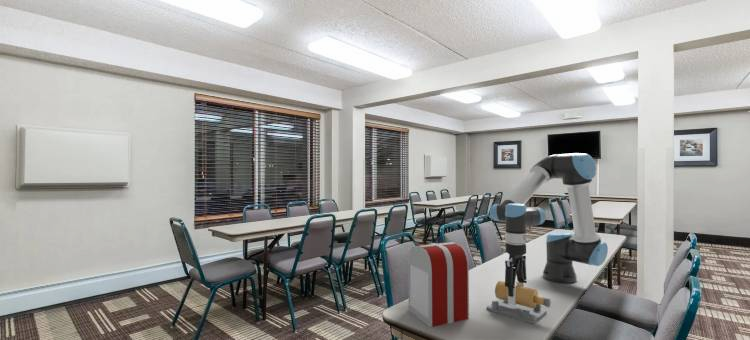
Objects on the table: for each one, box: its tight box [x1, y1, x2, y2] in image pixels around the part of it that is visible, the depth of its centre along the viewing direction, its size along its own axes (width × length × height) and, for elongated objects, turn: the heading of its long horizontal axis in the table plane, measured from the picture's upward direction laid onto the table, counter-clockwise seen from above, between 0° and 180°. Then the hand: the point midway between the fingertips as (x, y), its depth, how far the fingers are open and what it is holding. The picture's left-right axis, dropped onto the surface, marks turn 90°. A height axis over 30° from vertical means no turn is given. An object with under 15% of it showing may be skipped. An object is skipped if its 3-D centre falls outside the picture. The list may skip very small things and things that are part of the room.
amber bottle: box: [494, 280, 552, 309], centre depth 129 cm, size 19×7×7 cm, turn 44°
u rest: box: [486, 299, 548, 325], centre depth 131 cm, size 18×13×4 cm
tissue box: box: [407, 241, 470, 328], centre depth 129 cm, size 16×18×27 cm
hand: (516, 301), depth 131 cm, fingers closed on amber bottle, 7 cm apart
